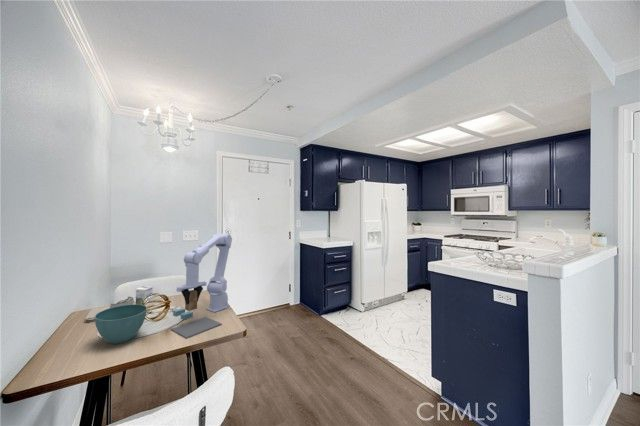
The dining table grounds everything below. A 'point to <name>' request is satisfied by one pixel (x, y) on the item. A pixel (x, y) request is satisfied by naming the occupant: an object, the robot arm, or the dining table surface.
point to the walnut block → (192, 301)
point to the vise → (182, 313)
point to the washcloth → (93, 312)
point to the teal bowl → (120, 322)
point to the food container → (123, 302)
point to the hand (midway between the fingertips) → (191, 302)
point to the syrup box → (143, 294)
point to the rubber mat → (195, 327)
